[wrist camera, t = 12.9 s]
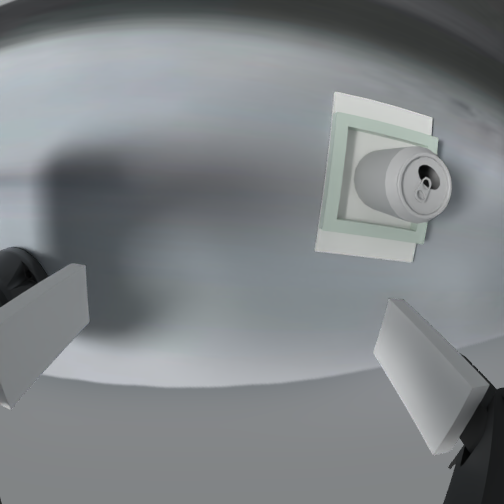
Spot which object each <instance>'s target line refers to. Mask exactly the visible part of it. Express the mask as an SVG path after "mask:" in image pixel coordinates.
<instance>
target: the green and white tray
mask: <svg viewBox="0 0 504 504" xmlns="http://www.w3.org/2000/svg"><path fill="white" fill-rule="evenodd" d="M431 134H432V117H429V116H426V115H423V114H419V113H416V112H413V111H410V110H407V109H403V108H400V107H396V106H393V105H389V104H386V103H382V102H378V101H374V100H370V99H366V98H362V97H358V96H353V95H349V94H344V93H340V92H334V99H333V109H332V120H331V129H330V139H329V147H328V156H327V164H326V172H325V180H324V188H323V195H322V202H321V209H320V216H319V223H318V230H317V236H316V242H315V249H314V251H316V252H324V253H333V254H342V255H350V256H359V257H368V258H376V259H385V260H393V261H401V262H410V263H412V261H413V257H414V252H415V247H416V243H417V244H424V239H425V234H426V229H427V223H428V222H424V223H418V224H417V223H412V222H407V221H404V220H402V219H399V218H396V217H394V216H391V215H388V214H385V213H383V212H380V211H377V210H374V209H372V208H370V207H369V206H367V205H365V204H364V203H363V201H362V200H361V199H360V198H359V196H358V194H357V192H356V190H355V185H354V174H355V169H356V167H357V165H358V163H359V161H360V160H361V159H362V158H363V157H364V156H365V155H366V154H368V153H370V152H372V151H376V150H384V149H392V148H401V147H411V146H421V147H424V148H427V149H429V150H431V151H432V152H433V153H435V154H436V155H437V149H438V138H437V137H434V136H431Z"/></svg>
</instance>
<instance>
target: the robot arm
mask: <svg viewBox="0 0 504 504" xmlns="http://www.w3.org/2000/svg"><path fill="white" fill-rule="evenodd" d="M89 322H90V318H89V308H88V295H87V280H86V265H81V264H75V263H71V264H69V265H67V266H66V267H64V268H62V269H61V270H59V271H57V272H56V273H54V274H52V275H51V276H49V277H47V275H46V273H45V271H44V270H43V268H42V267H41V265H40V264H39V263H38V262H37V260H36V259H35V258H34V257H33V256H31V255H30V254H29V253H27V252H26V251H24V250H22V249H19V248H15V247H10V248H6V249H3V250H1V251H0V405H2V406H4V407H6V408H8V409H10V410H11V409H12V408H13V407H14V406H15V404H16V403H17V402H18V401H19V400H20V398H21V397H22V396H23V395H24V394H25V393H26V392H27V390H28V389H29V388H30V387H31V386H32V385H33V383H34V382H35V381H36V380H37V379H38V378H39V377H40V376H41V374H42V373H43V372H44V371H45V370H46V369H47V368H48V367H49V365H50V364H51V363H52V362H53V361H54V360H55V359H56V358H57V357H58V356H59V354H60V353H61V352H62V351H63V350H64V349H65V348H66V347H67V346H68V345H69V344H70V343H71V341H72V340H73V339H74V338H75V337H76V336H77V335H78V334H79V333H80V332H81V331H82V330H83V329H84V328H85V327H86V326H87V325H88V324H89ZM373 354H374V355H375V357H376V358H377V360H378V362H379V363H380V365H381V367H382V368H383V370H384V371H385V373H386V375H387V376H388V378H389V380H390V381H391V383H392V385H393V386H394V388H395V390H396V391H397V393H398V395H399V397H400V398H401V400H402V402H403V403H404V405H405V407H406V408H407V410H408V412H409V413H410V415H411V417H412V419H413V421H414V422H415V424H416V426H417V428H418V429H419V431H420V433H421V435H422V436H423V438H424V440H425V442H426V444H427V445H428V447H429V449H430V451H431V452H432V454H433V455H437V454H442V453H446V452H449V451H451V450H452V449H453V447H454V446H455V444H456V443H457V441H458V439H459V438H460V439H461V441H462V442H463V444H464V446H463V447H462V449H461V450H460V451H459V453H458V454H457V456H456V457H455V459H454V460H453V461H452V462H451V464H450V465H449V467H448V468H450V469H451V468H452V466H453V465H454V464H456V465H455V469H454V472H453V476H452V479H451V482H450V485H449V488H448V491H447V494H446V497H445V500H444V503H443V504H504V388H499V389H496V388H495V387H494V386H493V385H492V384H491V383H490V382H489V381H488V380H487V378H485V376H484V375H483V374H482V373H481V372H480V371H478V369H477V368H476V367H475V366H473V365H472V363H471V362H470V361H469V360H468V359H467V358H466V357H465V356H463V355H462V354H460V353H459V352H458V351H457V350H456V349H455V348H454V347H453V346H452V345H451V344H450V343H449V342H448V341H447V340H446V339H445V338H444V337H443V336H441V335H440V334H439V333H438V332H437V331H436V330H435V329H434V328H433V327H432V326H431V325H430V324H429V323H428V322H427V321H426V320H425V319H424V318H423V317H422V316H421V315H420V314H419V313H418V312H416V311H415V310H414V309H413V308H412V307H411V306H410V305H409V304H408V303H407V302H406V301H405V300H404V299H391V298H389V300H388V303H387V307H386V311H385V315H384V318H383V322H382V325H381V329H380V332H379V335H378V339H377V342H376V345H375V348H374V351H373ZM0 504H2V503H1V499H0Z"/></svg>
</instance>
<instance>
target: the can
mask: <svg viewBox="0 0 504 504" xmlns="http://www.w3.org/2000/svg"><path fill="white" fill-rule="evenodd" d="M354 185H355V190H356V192H357V194H358V196H359V198H360V199H361V200H362V201H363V203H364V204H365V205H367V206H369V207H370V208H372V209H374V210H377V211H380V212H383V213H385V214H388V215H391V216H394V217H396V218H399V219H402V220H404V221H407V222H412V223H417V224H418V223H424V222H428V221H429V220H431V219H433V218H434V217H436V216H438V215H439V214H441V213H442V211H443V210H444V209H445V208H446V207H447V204H448V202H449V200H450V197H451V191H452V182H451V176H450V173H449V170H448V168H447V166H446V165H445V164H444V162H443V161H442V160H441V159H440V158H439V157H438V156H437V155H436V154H435V153H433V152H432V151H431V150H429V149H427V148H424V147H421V146H411V147H401V148H392V149H384V150H376V151H372V152H370V153H368V154H366V155H365V156H364V157H363V158H362V159H361V160H360V161H359V163H358V165H357V167H356V169H355V174H354Z"/></svg>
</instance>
